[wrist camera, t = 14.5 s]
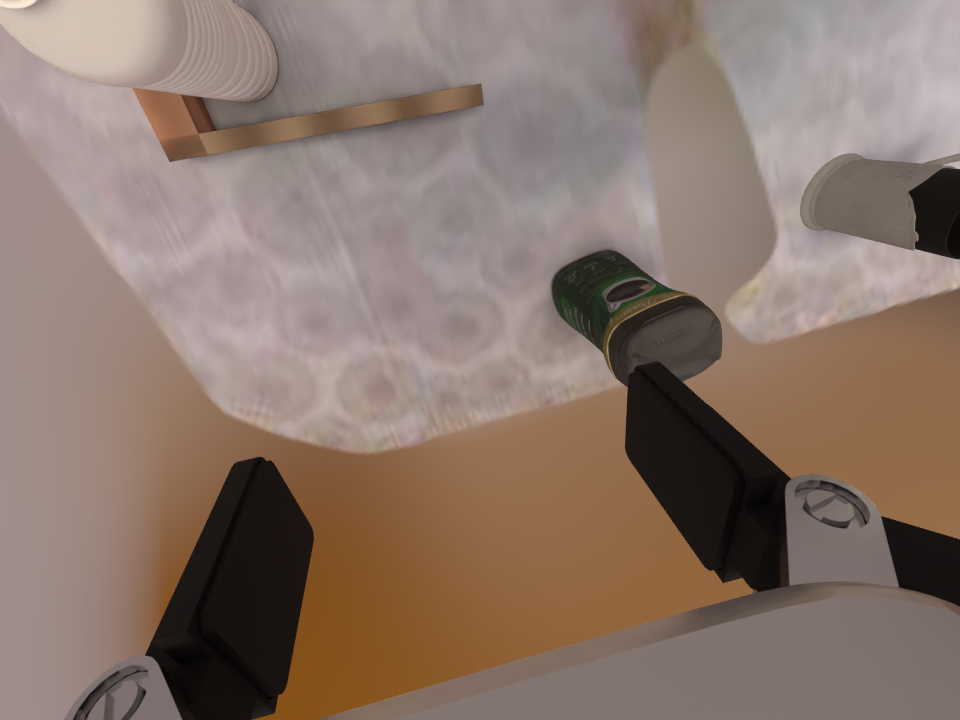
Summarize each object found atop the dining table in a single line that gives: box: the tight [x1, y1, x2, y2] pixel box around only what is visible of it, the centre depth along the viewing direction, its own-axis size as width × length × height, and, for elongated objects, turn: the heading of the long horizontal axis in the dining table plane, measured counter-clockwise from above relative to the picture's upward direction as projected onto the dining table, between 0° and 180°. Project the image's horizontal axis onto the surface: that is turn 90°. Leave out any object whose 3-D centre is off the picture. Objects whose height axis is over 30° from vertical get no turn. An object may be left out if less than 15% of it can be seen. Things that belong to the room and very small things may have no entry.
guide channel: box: [133, 84, 484, 162], centre depth 31 cm, size 26×15×4 cm, turn 98°
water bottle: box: [0, 0, 278, 102], centre depth 22 cm, size 9×6×25 cm
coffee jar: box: [553, 251, 722, 387], centre depth 42 cm, size 10×8×19 cm
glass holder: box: [800, 154, 960, 259], centre depth 43 cm, size 9×14×15 cm, turn 123°
